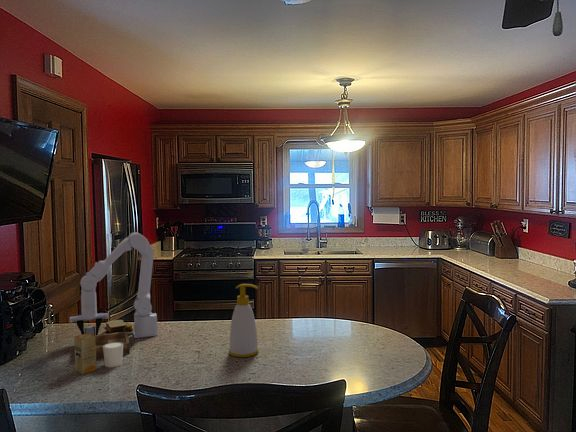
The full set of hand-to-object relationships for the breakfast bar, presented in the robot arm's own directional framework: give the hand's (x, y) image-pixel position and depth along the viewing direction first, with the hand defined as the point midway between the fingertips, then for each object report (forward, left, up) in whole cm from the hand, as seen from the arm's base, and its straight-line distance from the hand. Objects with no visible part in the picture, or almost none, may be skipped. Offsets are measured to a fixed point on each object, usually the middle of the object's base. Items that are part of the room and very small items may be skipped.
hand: (90, 337), depth 187 cm
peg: (0, 0, -2) cm, 2 cm away
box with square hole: (-5, +13, -2) cm, 14 cm away
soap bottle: (-54, +38, -2) cm, 66 cm away
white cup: (-8, +30, -2) cm, 31 cm away
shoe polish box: (+1, +32, -2) cm, 32 cm away
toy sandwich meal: (-11, -8, -2) cm, 14 cm away
